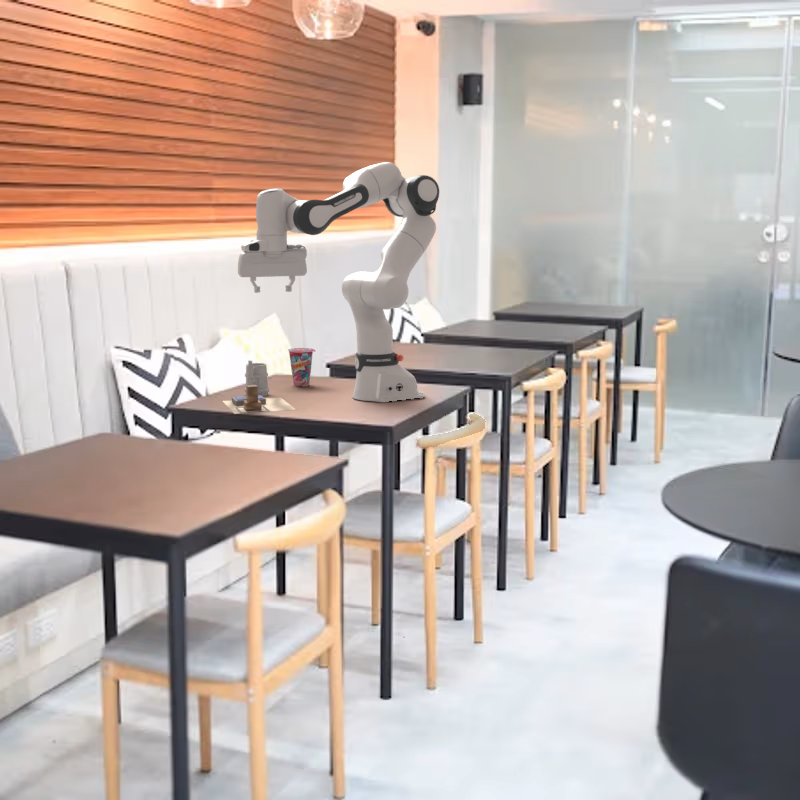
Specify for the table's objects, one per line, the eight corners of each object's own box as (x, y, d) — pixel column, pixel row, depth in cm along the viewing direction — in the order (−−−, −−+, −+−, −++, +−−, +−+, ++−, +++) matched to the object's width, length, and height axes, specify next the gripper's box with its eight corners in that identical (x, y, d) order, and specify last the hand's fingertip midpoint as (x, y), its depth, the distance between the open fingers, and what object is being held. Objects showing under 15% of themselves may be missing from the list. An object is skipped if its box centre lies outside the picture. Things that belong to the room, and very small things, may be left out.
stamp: (258, 407, 326) (257, 384, 325) (261, 410, 322) (260, 386, 321) (243, 408, 325) (243, 385, 323) (246, 411, 320) (245, 387, 319)
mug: (272, 393, 355) (271, 356, 353) (261, 400, 344) (260, 361, 342) (249, 392, 356) (248, 355, 354) (237, 399, 345) (236, 361, 343)
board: (280, 400, 343) (280, 391, 342) (296, 413, 323) (295, 403, 323) (222, 404, 337) (222, 395, 337) (234, 417, 317) (234, 407, 317)
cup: (287, 387, 366) (286, 351, 364) (290, 383, 374) (289, 347, 372) (315, 387, 366) (314, 351, 363) (318, 383, 374) (317, 347, 372)
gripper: (303, 243, 333) (304, 290, 335) (235, 245, 326) (237, 292, 329) (308, 244, 327) (309, 291, 329) (239, 245, 320) (241, 293, 323)
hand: (273, 292), depth 329 cm, fingers open, 8 cm apart
